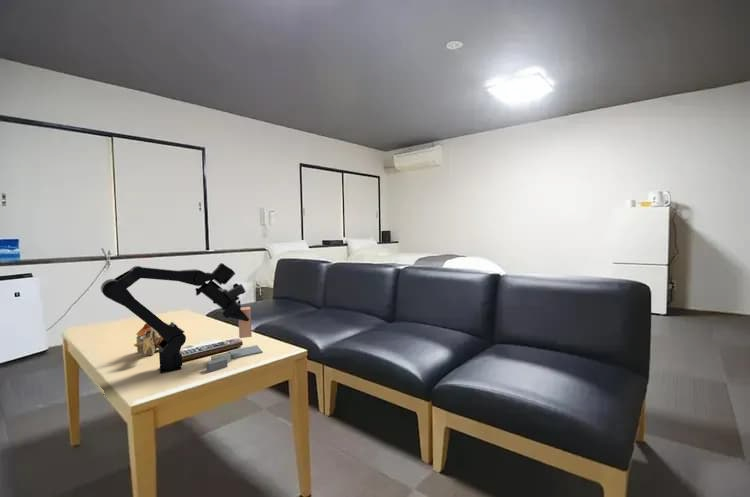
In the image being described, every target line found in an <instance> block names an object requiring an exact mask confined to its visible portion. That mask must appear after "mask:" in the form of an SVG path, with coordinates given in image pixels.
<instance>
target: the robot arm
mask: <svg viewBox="0 0 750 497" xmlns="http://www.w3.org/2000/svg"><path fill="white" fill-rule="evenodd" d="M235 275H236V273H235V271H234V270H233V269H232V268H230V267H228V266H227V265H226V264H224V263H222V262H221V263H219V264H218V265H217V267H216V268H214V270H213V271H212V272H209V271H208V272H205V271H204V270H200V269H196V268H195V269H182V270H181V269H180V270H176V269H175V270H173V269H172V270H171V269H164V268H156V267H155V268H153V267H145V266H143V267H142V266H140V265H134V266H132V267H131V268H130V269H129V270H127V271H126V272H124V273H122V274H120V275H118V276H117V277H115V278H110V279H107V280H105V281H103V283H102V284H101V286H100V291H101V293H102V295H104V297H105V298H107V299H109V300H111V301H112V302H115V303H117V304H119V305H121V306H124V307H125V308H127V309H128V310H129V312H130V311H131V313H133V314H134V315H136V316H137V317H138V318H139V319H140V320H142V321H143V322H144V323H145V324H146V323H147V324H148V325H149V326H151V327H152V328H153V329H154V330H156V331H157V335H158V336H160V337H161V338H163V340H162V341H161V342H160V343H159V344H158V345H157V346H158V348H157V349H158V350H159V353H158V354H159V355H158V356H159V374H163V373H167V372H169V373H170V372H172V371H177V370H182V366H183V354H182V352H181V349H182V346H184V344H185V343H186V339H187V336H186V334H184V333H185V331H184V329H182V328H180V327H179V326H178V325H177V324H176V323H174V322H173V321H171V322H170V323H166V322H164V321H163V320H162V319H161V318H159V317H158V316H157V315H156V314H155V313H153V312H152V311H151V310H150V309H148V308H147V307H146V306H144V304H142V303H141V302H140V301H138V300H137V299H136V298H135V297H134V296H133V295H132V293H131V292H130V291H129V289H128V288H129V287H131V286H133V284H135V283H137V281H139V280H140V279H147V280H148V279H149V280H157V281H158V280H160V281H170V282H171V281H173V282H174V281H175V282H180V283H184V284H188V285H191V286H196V288H195V296H199V295H200V294H201V293H202V294H203V295H204V296H205V297H207V298H209V299H210V300H211V301H212V303H213V304H214V305H217V306H218V307H219V308H220V309H221V310H222V316H223V317H225V318H226V319H236V320H238V321H239V320H243V321H247V322H248V321H249V318H248V317H247V316H246V315H245V314H244V312H243V311H242V310H241V308H243V307H242V305H241V299H240V297H239V296H240V295H243V294H245V293H246V289H245V287H244V285H243V284H242V283H240V284H238V283H234V284H233V285H232V288H231V289H229V290H228V289H223V287H221V286H222V285H227V284H228V282H229V281H230V280H231V279H232V278H233V277H235Z"/></svg>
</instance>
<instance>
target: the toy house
mask: <svg viewBox="0 0 750 497" xmlns="http://www.w3.org/2000/svg"><path fill="white" fill-rule="evenodd" d="M144 335H145V336H144ZM136 336H137V337H141V336H144V340H142V341H140V342H138V344H137V348H136V351H137V354H138V355H139V356H143V355H146V354H147V356H153V355H154V354H155V352H156V350H157V349H159V348H158V346H157V345H158V344H159V343H160V342H161V341H162V340H163V338H162V337H161V338H159V337H158V336H159V334H158V332H157V331H156V330H154V329H153V328H152V327H151V326H149V325H148V324H147V323H146V322H145V324H144V325H143V327H141V328H140V329H139V330H138V331H137V332H136Z"/></svg>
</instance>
